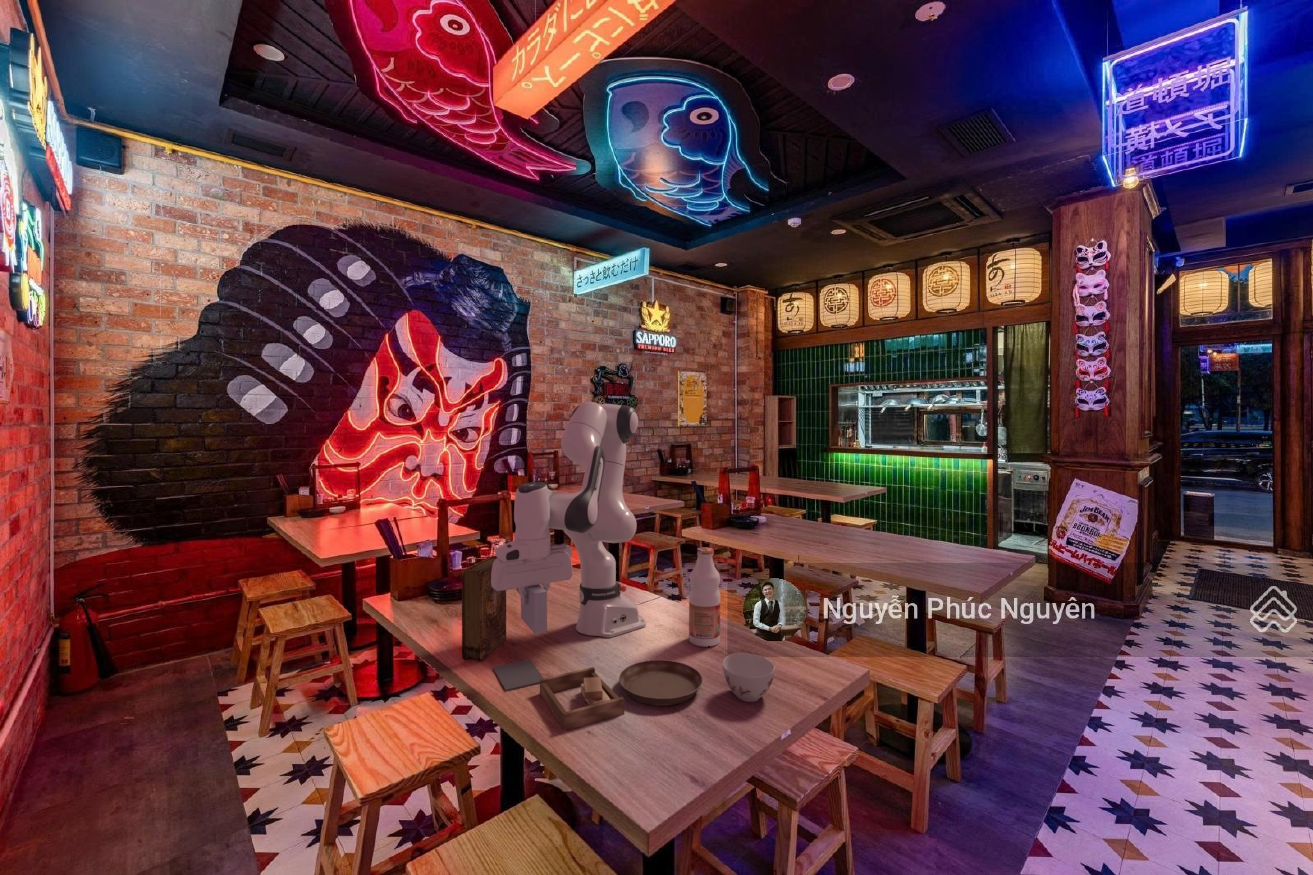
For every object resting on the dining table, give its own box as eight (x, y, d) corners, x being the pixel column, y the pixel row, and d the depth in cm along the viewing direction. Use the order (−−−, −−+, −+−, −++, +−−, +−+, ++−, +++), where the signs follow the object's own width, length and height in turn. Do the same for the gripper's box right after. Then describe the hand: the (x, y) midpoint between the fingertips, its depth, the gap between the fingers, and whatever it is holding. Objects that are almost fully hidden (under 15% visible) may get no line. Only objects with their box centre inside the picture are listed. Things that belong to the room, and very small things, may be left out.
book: (491, 637, 165) (491, 556, 164) (508, 639, 163) (508, 557, 163) (461, 661, 149) (461, 571, 148) (480, 663, 147) (479, 572, 147)
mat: (529, 660, 149) (529, 659, 149) (545, 682, 137) (545, 680, 137) (492, 668, 144) (492, 666, 144) (505, 691, 132) (505, 689, 132)
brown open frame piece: (593, 680, 138) (593, 666, 138) (624, 713, 122) (624, 698, 122) (539, 693, 131) (539, 679, 131) (565, 730, 115) (565, 714, 115)
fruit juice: (683, 638, 165) (683, 547, 164) (709, 632, 169) (710, 544, 168) (698, 649, 157) (699, 554, 156) (726, 644, 161) (727, 550, 160)
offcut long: (596, 690, 134) (596, 680, 134) (610, 710, 125) (610, 699, 124) (580, 694, 132) (580, 684, 132) (594, 714, 123) (594, 703, 123)
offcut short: (600, 684, 131) (600, 676, 131) (602, 699, 125) (602, 690, 124) (583, 686, 131) (583, 678, 131) (584, 700, 124) (585, 692, 124)
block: (532, 615, 142) (531, 578, 142) (547, 631, 132) (546, 591, 131) (521, 618, 141) (520, 580, 140) (535, 634, 130) (534, 593, 130)
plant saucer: (655, 663, 148) (655, 651, 148) (718, 687, 135) (718, 674, 135) (601, 692, 132) (601, 679, 132) (667, 722, 119) (667, 708, 119)
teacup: (748, 715, 122) (748, 680, 122) (711, 693, 132) (711, 660, 132) (792, 696, 131) (792, 663, 130) (754, 676, 141) (755, 646, 140)
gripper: (567, 540, 143) (567, 591, 144) (488, 550, 133) (489, 605, 134) (576, 545, 138) (576, 598, 139) (495, 555, 128) (495, 613, 128)
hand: (533, 602), depth 136 cm, fingers closed on block, 3 cm apart
